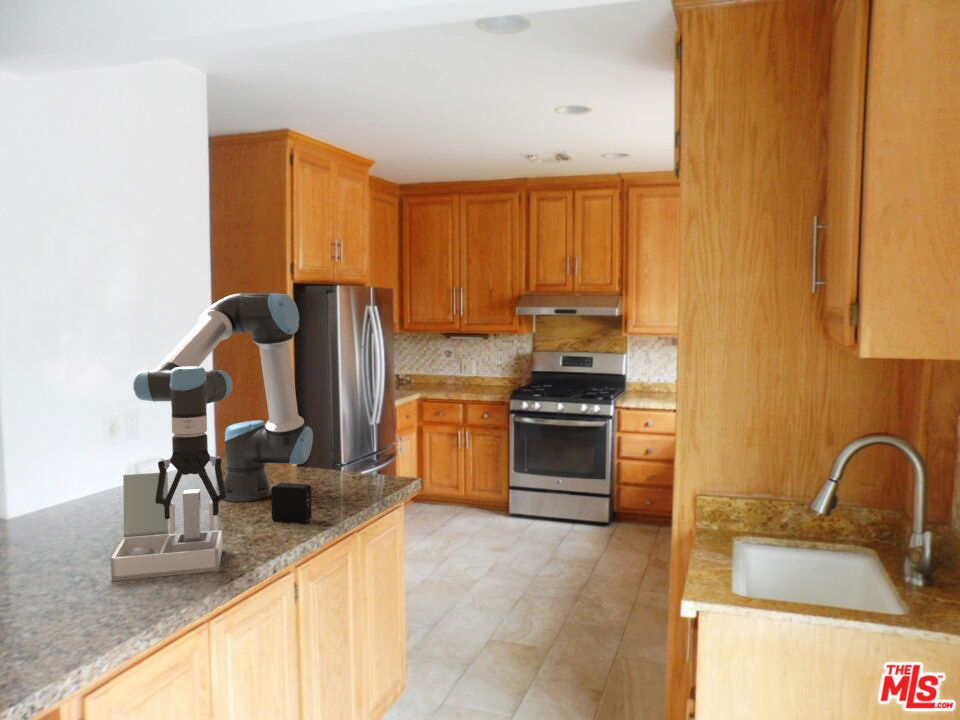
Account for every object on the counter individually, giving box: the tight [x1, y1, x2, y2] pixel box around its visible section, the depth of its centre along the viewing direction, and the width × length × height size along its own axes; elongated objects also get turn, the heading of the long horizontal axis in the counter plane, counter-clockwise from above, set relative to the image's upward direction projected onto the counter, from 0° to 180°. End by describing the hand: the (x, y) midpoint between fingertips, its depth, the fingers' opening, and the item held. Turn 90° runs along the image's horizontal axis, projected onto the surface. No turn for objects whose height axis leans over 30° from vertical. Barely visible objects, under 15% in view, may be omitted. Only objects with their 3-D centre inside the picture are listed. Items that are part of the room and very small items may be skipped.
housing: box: [110, 530, 224, 582], centre depth 165 cm, size 14×22×6 cm, turn 106°
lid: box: [122, 471, 169, 538], centre depth 170 cm, size 15×10×1 cm
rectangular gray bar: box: [182, 488, 202, 542], centre depth 166 cm, size 3×3×16 cm
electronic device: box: [270, 482, 312, 525], centre depth 198 cm, size 4×10×10 cm, turn 78°
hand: (192, 530), depth 166 cm, fingers open, 8 cm apart
